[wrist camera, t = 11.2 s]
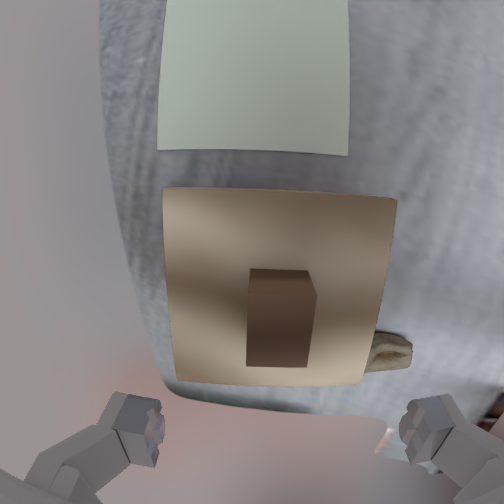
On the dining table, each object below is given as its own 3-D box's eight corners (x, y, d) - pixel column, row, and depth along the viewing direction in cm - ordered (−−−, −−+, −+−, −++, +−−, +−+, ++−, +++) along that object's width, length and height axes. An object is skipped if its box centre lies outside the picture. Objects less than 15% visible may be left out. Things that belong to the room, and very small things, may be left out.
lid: (166, 187, 16) (141, 198, 12) (391, 197, 16) (423, 211, 12) (179, 372, 20) (166, 412, 16) (357, 377, 20) (371, 415, 16)
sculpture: (409, 312, 35) (290, 313, 34) (427, 334, 30) (297, 340, 29) (392, 358, 37) (281, 364, 36) (406, 382, 33) (287, 392, 32)
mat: (170, -10, 23) (169, -12, 23) (345, -6, 23) (347, -8, 23) (158, 150, 29) (157, 150, 28) (346, 156, 29) (347, 156, 28)
